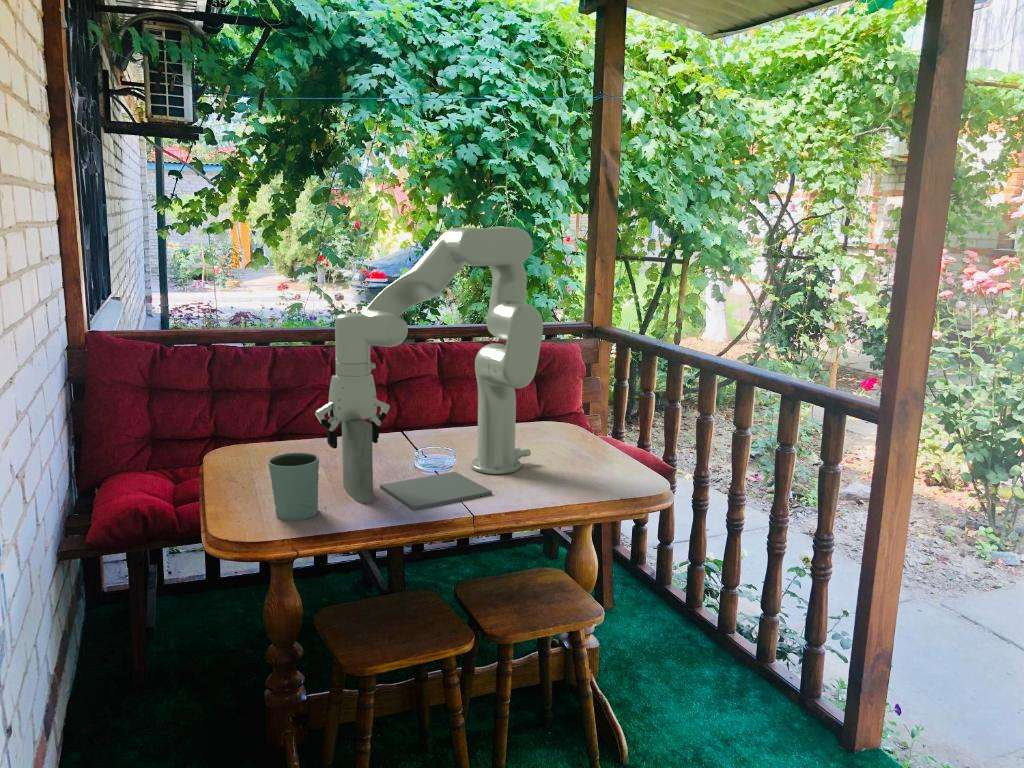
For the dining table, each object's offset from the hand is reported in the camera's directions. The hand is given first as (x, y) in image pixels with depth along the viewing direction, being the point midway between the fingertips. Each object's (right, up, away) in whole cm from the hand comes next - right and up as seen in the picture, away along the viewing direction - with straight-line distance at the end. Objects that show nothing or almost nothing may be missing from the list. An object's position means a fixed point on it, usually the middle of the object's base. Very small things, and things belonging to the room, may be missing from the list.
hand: (353, 444), depth 177 cm
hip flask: (0, -11, +2) cm, 12 cm away
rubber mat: (+18, -11, +4) cm, 22 cm away
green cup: (-10, -14, -11) cm, 20 cm away
